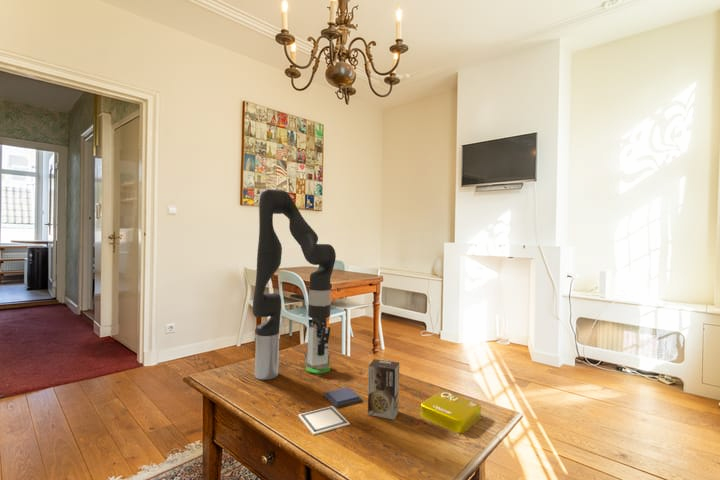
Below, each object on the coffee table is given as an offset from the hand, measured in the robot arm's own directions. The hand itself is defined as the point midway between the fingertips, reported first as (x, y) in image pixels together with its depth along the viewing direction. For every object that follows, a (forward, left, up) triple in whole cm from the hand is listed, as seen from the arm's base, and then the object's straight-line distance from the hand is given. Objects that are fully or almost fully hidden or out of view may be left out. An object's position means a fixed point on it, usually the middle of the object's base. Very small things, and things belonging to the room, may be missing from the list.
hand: (318, 352), depth 116 cm
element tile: (+27, +35, -18) cm, 48 cm away
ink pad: (0, +10, -17) cm, 20 cm away
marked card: (+10, -2, -17) cm, 20 cm away
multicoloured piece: (-29, +13, -18) cm, 36 cm away
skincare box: (0, 0, -4) cm, 4 cm away
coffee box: (+15, +17, -18) cm, 29 cm away
